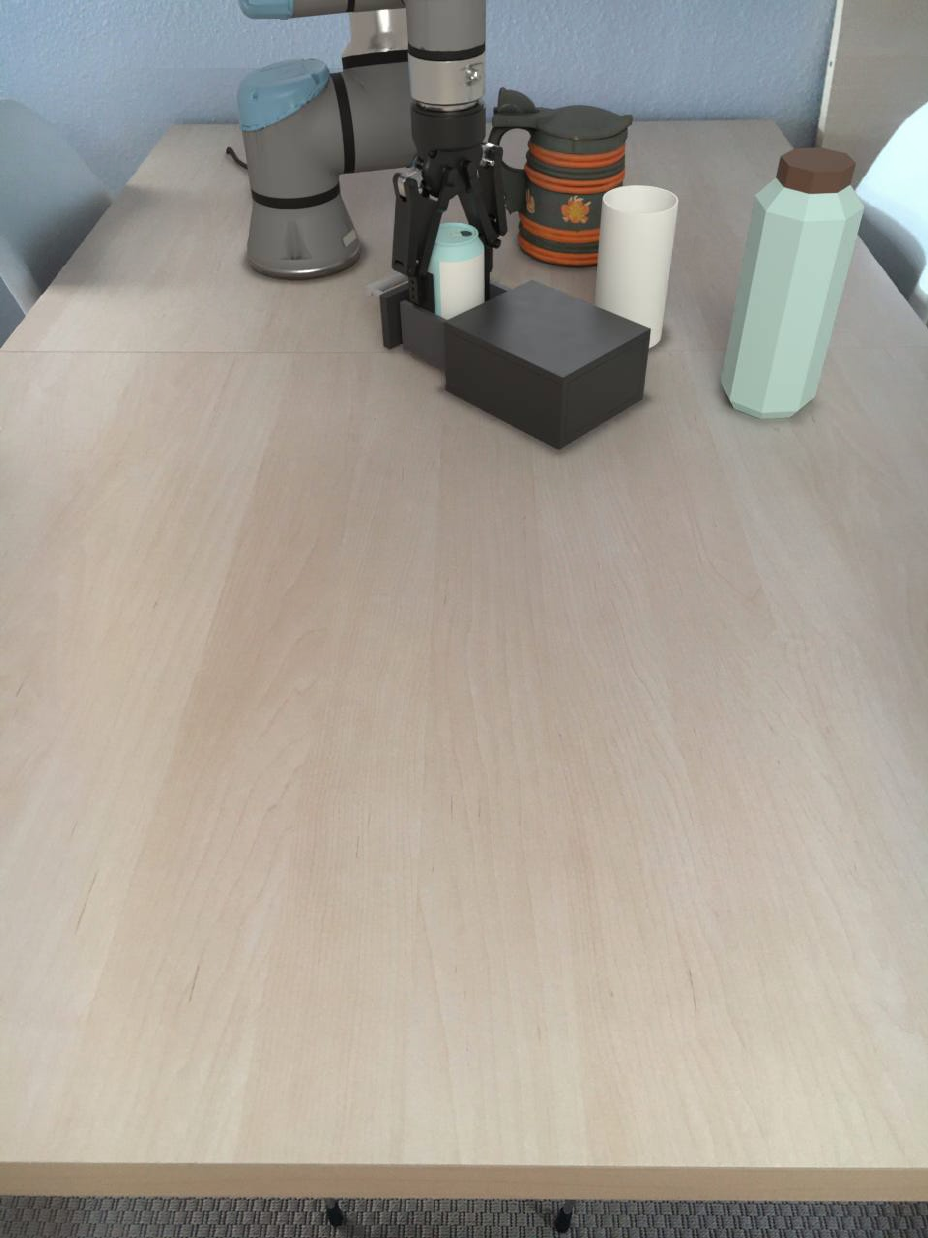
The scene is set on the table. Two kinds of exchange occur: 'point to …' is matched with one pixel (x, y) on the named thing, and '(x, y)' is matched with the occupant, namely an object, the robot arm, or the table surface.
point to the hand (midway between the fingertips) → (452, 313)
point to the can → (457, 269)
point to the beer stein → (561, 175)
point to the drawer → (412, 319)
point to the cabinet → (546, 361)
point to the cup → (636, 254)
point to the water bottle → (791, 282)
